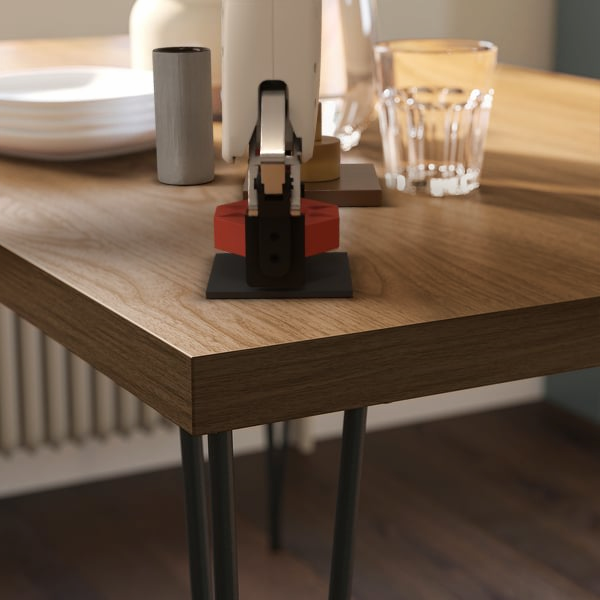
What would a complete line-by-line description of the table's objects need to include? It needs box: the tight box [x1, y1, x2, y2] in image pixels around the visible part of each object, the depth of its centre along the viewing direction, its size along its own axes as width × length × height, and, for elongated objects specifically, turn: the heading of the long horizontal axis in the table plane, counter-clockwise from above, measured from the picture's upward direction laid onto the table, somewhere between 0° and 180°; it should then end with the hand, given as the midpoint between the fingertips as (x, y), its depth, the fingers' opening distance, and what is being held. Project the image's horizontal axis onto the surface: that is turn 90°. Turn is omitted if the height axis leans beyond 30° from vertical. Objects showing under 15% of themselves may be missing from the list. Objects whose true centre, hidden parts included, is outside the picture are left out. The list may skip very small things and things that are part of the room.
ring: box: [213, 198, 341, 257], centre depth 67 cm, size 7×7×2 cm
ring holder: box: [242, 101, 383, 207], centre depth 89 cm, size 10×10×7 cm
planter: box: [151, 46, 215, 186], centre depth 93 cm, size 4×4×10 cm
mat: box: [205, 251, 354, 299], centre depth 68 cm, size 8×8×1 cm
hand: (277, 263), depth 68 cm, fingers closed on ring, 7 cm apart
